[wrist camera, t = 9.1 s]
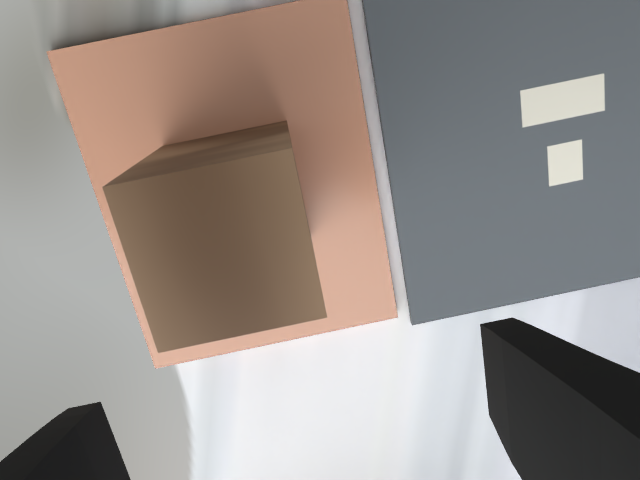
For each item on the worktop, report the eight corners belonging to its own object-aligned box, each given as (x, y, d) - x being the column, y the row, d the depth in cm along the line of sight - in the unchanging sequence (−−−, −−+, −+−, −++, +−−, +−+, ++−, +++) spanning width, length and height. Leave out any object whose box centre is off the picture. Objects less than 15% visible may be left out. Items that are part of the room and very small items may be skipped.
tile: (344, -8, 16) (345, -9, 15) (396, 313, 19) (397, 317, 19) (50, 52, 16) (46, 51, 15) (157, 364, 19) (155, 368, 19)
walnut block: (286, 120, 16) (291, 147, 11) (311, 237, 18) (327, 317, 12) (162, 145, 16) (102, 187, 11) (196, 261, 18) (158, 352, 12)
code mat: (746, -108, 16) (752, -110, 16) (722, 256, 20) (726, 258, 19) (357, -30, 16) (358, -30, 15) (411, 322, 19) (412, 325, 19)
